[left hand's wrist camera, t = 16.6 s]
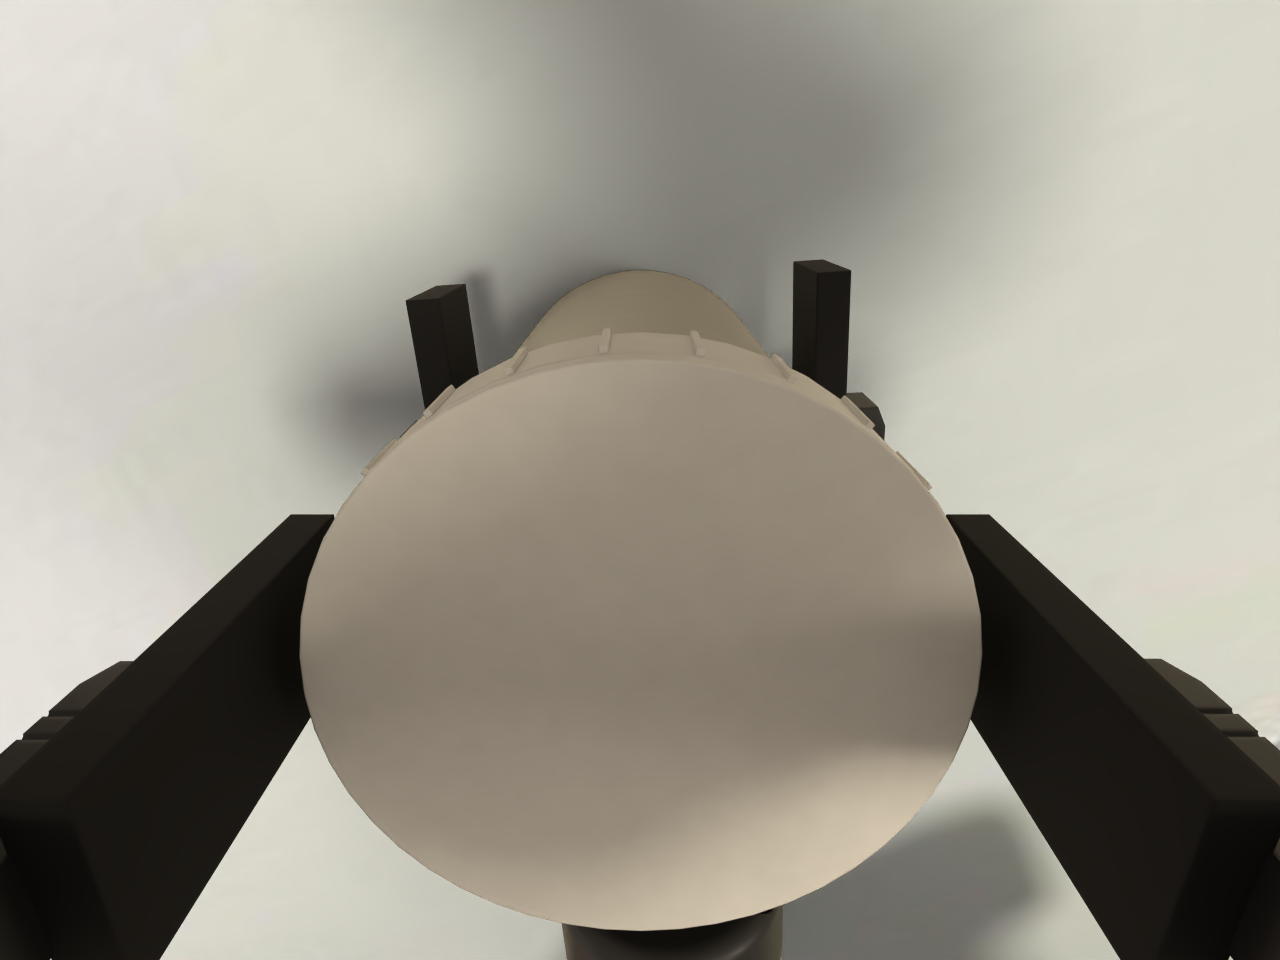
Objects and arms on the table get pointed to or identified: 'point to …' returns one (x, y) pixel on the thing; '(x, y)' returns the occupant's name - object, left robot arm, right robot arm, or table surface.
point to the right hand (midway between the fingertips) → (627, 279)
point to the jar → (640, 311)
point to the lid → (640, 635)
